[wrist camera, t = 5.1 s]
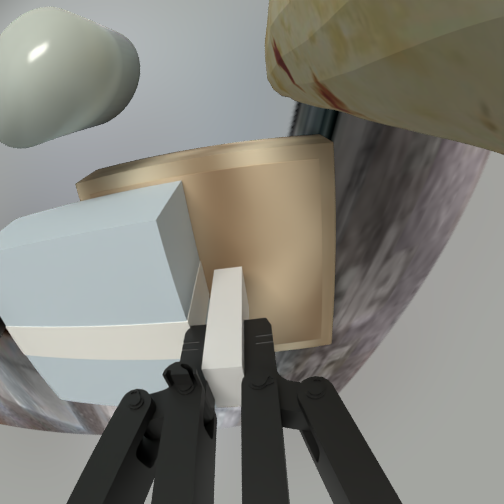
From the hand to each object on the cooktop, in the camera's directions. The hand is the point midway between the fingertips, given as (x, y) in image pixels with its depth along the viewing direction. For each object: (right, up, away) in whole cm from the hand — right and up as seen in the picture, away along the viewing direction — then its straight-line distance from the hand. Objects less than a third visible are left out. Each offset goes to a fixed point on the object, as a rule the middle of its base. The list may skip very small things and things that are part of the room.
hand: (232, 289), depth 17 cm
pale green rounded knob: (-9, +13, -2) cm, 15 cm away
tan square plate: (-1, +2, +4) cm, 5 cm away
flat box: (-8, 0, +2) cm, 8 cm away
